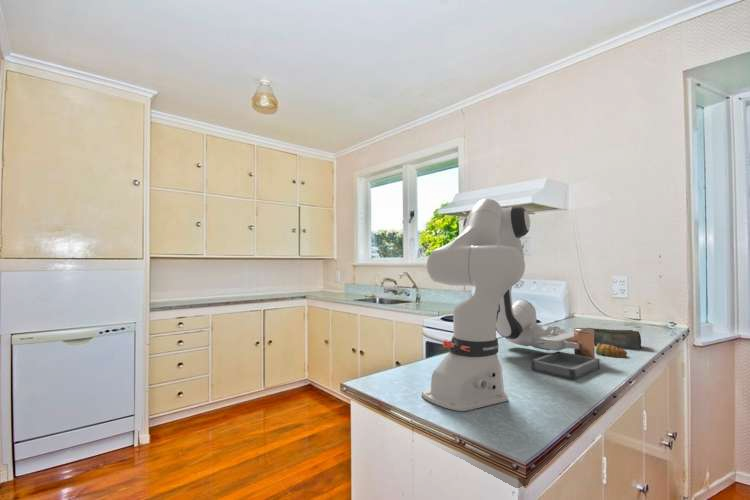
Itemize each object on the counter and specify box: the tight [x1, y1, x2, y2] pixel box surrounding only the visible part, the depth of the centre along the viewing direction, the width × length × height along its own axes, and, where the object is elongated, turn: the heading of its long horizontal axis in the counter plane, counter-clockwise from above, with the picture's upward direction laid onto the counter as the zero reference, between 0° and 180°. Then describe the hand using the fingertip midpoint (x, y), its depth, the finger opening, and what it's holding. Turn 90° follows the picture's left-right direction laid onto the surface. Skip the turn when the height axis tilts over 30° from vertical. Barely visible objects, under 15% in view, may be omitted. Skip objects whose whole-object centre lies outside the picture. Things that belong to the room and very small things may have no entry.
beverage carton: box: [587, 327, 642, 350], centre depth 147 cm, size 8×19×7 cm, turn 57°
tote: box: [530, 350, 601, 381], centre depth 114 cm, size 18×13×3 cm
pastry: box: [595, 343, 628, 358], centre depth 132 cm, size 9×7×4 cm
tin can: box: [573, 327, 596, 359], centre depth 123 cm, size 6×6×11 cm
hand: (585, 344), depth 123 cm, fingers open, 8 cm apart
